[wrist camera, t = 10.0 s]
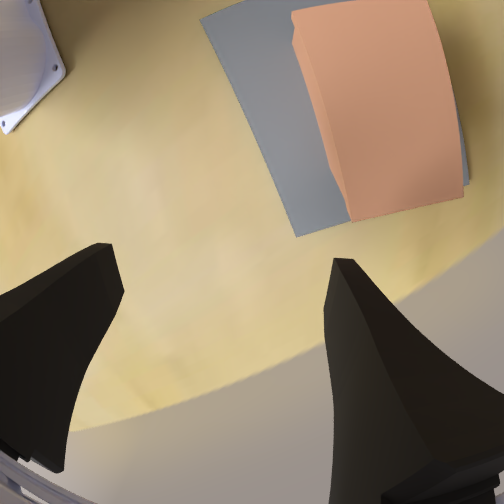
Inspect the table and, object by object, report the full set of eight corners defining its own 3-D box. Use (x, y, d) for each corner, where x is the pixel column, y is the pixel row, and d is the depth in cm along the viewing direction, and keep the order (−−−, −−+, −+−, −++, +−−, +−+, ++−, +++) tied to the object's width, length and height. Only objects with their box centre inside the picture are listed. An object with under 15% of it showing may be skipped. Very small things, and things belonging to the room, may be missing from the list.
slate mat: (201, 21, 13) (199, 20, 12) (401, -32, 9) (404, -34, 9) (296, 233, 19) (296, 237, 18) (465, 181, 15) (469, 184, 15)
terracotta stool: (331, 174, 16) (352, 222, 11) (289, 36, 12) (291, 11, 7) (412, 157, 15) (463, 197, 10) (379, 21, 11) (425, -3, 6)
